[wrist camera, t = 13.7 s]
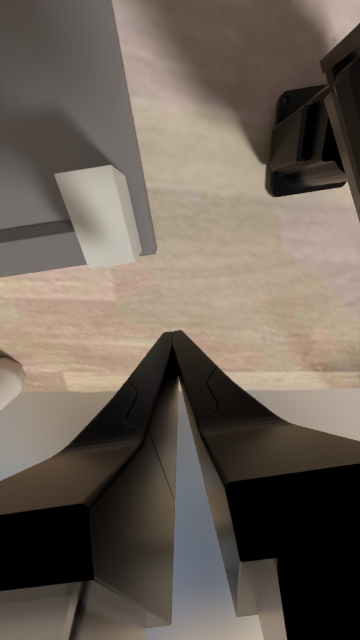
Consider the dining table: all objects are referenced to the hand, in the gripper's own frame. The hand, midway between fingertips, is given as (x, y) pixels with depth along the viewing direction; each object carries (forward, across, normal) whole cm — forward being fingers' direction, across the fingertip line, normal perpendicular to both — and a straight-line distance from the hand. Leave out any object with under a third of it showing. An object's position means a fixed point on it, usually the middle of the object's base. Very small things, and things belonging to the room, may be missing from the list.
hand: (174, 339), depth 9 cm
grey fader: (+10, +3, -5) cm, 11 cm away
